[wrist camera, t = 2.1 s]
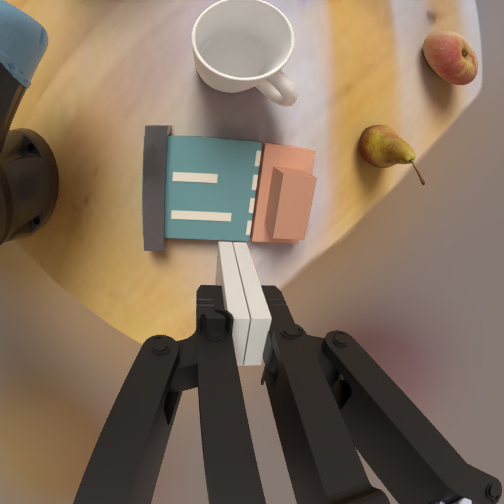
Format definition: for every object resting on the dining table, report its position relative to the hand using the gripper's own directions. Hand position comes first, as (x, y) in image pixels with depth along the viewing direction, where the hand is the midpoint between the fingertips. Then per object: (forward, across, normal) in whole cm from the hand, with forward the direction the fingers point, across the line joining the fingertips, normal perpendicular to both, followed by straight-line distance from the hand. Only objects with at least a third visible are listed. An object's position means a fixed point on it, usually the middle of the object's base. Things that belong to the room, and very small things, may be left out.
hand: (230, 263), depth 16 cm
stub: (+18, +8, 0) cm, 20 cm away
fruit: (+19, +19, +9) cm, 28 cm away
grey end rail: (+18, -7, 0) cm, 20 cm away
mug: (+19, +2, +14) cm, 24 cm away
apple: (+19, +30, +27) cm, 44 cm away
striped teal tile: (+18, -2, 0) cm, 18 cm away
